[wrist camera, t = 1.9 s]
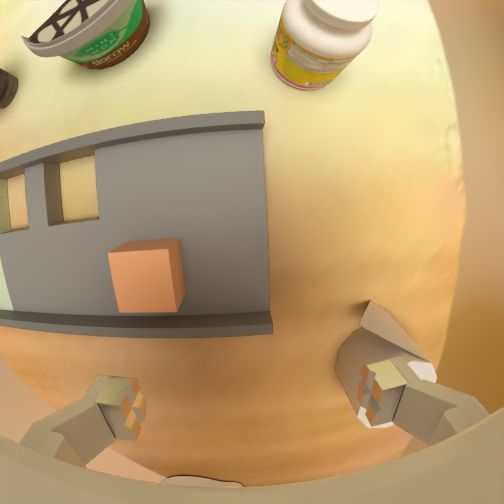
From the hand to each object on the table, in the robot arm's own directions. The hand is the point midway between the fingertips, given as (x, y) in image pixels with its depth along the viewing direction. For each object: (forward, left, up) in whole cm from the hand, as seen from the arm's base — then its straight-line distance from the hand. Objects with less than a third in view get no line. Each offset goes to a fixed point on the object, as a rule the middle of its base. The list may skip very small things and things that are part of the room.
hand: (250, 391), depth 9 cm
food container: (+26, +1, -20) cm, 33 cm away
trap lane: (+10, +14, -19) cm, 26 cm away
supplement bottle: (+14, -14, -20) cm, 28 cm away
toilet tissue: (-18, -8, -20) cm, 27 cm away
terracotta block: (+3, +7, -16) cm, 18 cm away
